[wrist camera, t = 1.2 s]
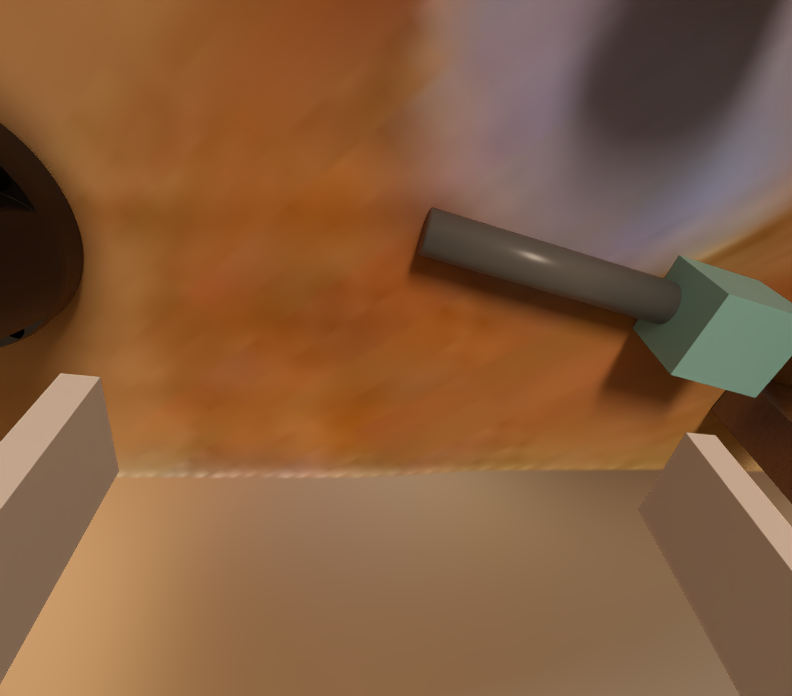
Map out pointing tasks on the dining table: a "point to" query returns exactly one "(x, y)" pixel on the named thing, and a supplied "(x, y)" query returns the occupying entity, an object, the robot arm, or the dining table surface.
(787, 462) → the housing
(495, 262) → the mallet
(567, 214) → the dining table surface
